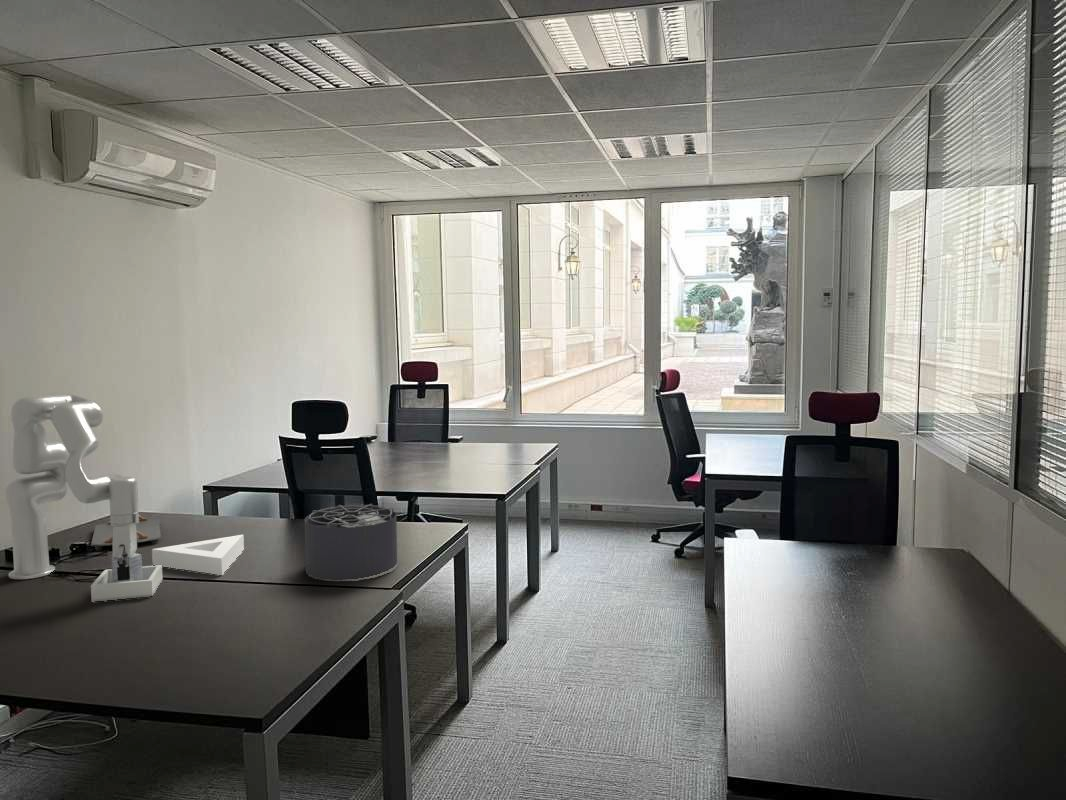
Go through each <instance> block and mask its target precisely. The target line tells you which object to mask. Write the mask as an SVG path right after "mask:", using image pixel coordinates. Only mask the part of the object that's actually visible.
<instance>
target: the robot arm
mask: <svg viewBox="0 0 1066 800" xmlns="http://www.w3.org/2000/svg"><path fill="white" fill-rule="evenodd" d="M10 417H11V423H12V428H13V449H12V466H13V467H12V468H13V469H14V471H15V472H16V473H17V474H20V475H31V476H26V477H21V478H16V479H14V480H12V481H11V482H10V483H8V484H7V485H6V488H5V491H4V496H5V499H6V503H7V507H8V510H9V516H10V528H11V540H12V541H11V542H12V554H13V555H12V556H13V557H12V558H13V570H11V571H10V572H8V578H9V579H12V580H29V579H36V578H41V577H44V576H45V577H46V576H48V575H51V574H52V573H51V572H53V571H54V570H55V571H56V567H55V566H54V565H53V564H50V556H49V543H48V542H49V541H48V524H47V517H46V515H45V514H44V512H43V511H42V510H41V509H40V507H39V506H41V505H44V504H48V503H54V502H57V501H60V500H62V499H64V498H65V497H66V495H67V493H68V487H69V488H70V491H71V492H72V494H73V496H74V497H75V498H76V500H78V502H80V503H82V504H85V505H86V504H89V505H90V504H94V503H98V502H99V503H100V502H103V501H109V515H110V516H109V517H110V518H109V519H110V520H109V521H111V525H112V526H113V546H112V555H113V558H114V559H116V558H117V559H118V561H117V577H118V580H129V579H130V566H128V562H129V561H128V558H130V557H131V556H132V555H133V554H134V553H136V551H137V549H138V543H137V534H136V523H139V515H140V511H139V494H138V493H139V491H138V480H137V479H136V478H135V477H134V476H123V475H121V474H119V473H110V474H104V475H97V476H92V477H91V476H90V477H87V476H86V473H85V472H84V470H83V467H82V460H83V459H84V458H86V457H88V456H89V455H91V454H93V452H95V451H96V450H97V449H98V447H99V444H100V441H99V439H98V438H97V436H96V434H95V433H94V431H93V428H97V427H98V426H100V425H101V424H102V423H103V420H104V413H103V410H102V409H101V407H100V406H99V404H97V403H96V402H94V401H93V400H91V399H87V398H84V397H81V396H78V395H76V394H73V393H72V394H71V393H55V394H41V395H40V394H38V395H30V396H24V397H21V398H18V399H17V400H16V401H15V402H14V403H13V404H12V406H11V410H10ZM49 422H51V423H52V424H53V426H54V428H55V430H56V432H57V434H58V435H59V438H60V440H61V441H62V442H60V441H53V440H51V441H46V438H47V432H46V428H45V427H44V425H43V424H42V423H49ZM38 473H44V474H38ZM32 474H37V475H32ZM124 555H127V556H124ZM123 559H126V562H125V560H123ZM55 571H54V572H55ZM54 572H53V573H54ZM50 573H51V574H50Z"/></svg>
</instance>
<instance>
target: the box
mask: <svg viewBox="0 0 1066 800" xmlns="http://www.w3.org/2000/svg"><path fill="white" fill-rule="evenodd" d="M142 574H143V580H138V581H126V582H114V583H113V576H112V568H108V569H107V568H106V569H104V570H103V571H102V572H101V574H100V575H99V576H98V577H97V578H96V579H95V580H94V581H93V582H92V584H91V585H90V595H91V603H92V602H93V603H96V602H95V601H104V602H108V601H107V600H115V601H118V600H117V599H126V598H136V597H148V598H150V597H149V596H153V595H154V596H155V594H156V593H157V591H156V590H158V589H159V587H160V586H161V584H162V583H163V581H162V580H163V579H164V578H163V567H162V565H155V566H153V565H145V566H143V565H142ZM160 583H161V584H160ZM159 585H160V586H159ZM158 586H159V587H158ZM157 588H158V589H157ZM154 593H155V594H154ZM154 596H153V597H154ZM126 600H127V599H126Z"/></svg>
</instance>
